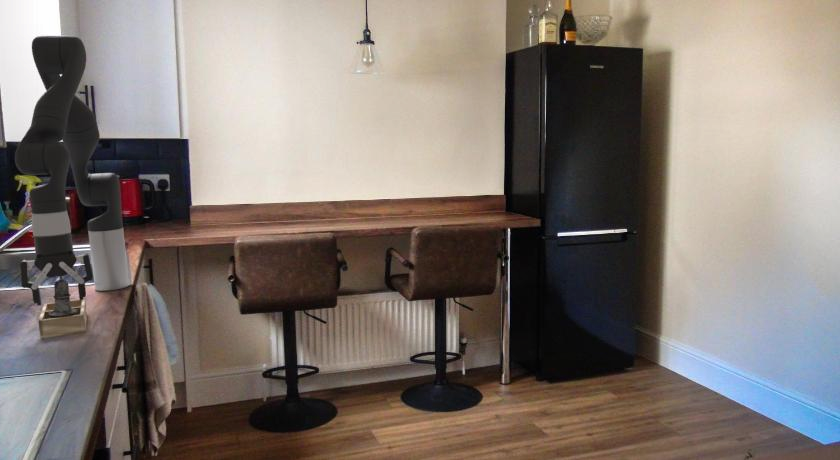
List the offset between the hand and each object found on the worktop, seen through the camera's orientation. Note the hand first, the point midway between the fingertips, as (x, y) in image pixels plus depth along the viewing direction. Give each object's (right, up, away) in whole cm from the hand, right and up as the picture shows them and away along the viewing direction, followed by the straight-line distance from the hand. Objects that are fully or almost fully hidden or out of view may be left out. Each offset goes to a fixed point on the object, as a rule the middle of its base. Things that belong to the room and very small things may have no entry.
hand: (60, 302), depth 156 cm
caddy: (-1, -6, +5) cm, 8 cm away
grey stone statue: (0, -6, +1) cm, 6 cm away
